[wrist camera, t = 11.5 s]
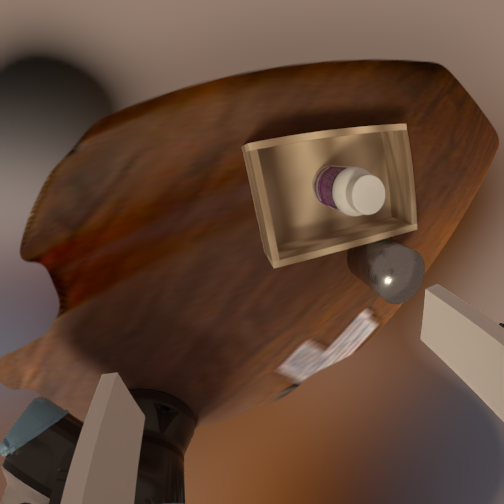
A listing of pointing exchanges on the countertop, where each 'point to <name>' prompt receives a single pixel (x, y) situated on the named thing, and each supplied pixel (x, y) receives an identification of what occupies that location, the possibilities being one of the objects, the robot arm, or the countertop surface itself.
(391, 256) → the tin can
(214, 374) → the countertop surface
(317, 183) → the pill bottle
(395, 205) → the caddy
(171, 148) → the countertop surface
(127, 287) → the countertop surface
